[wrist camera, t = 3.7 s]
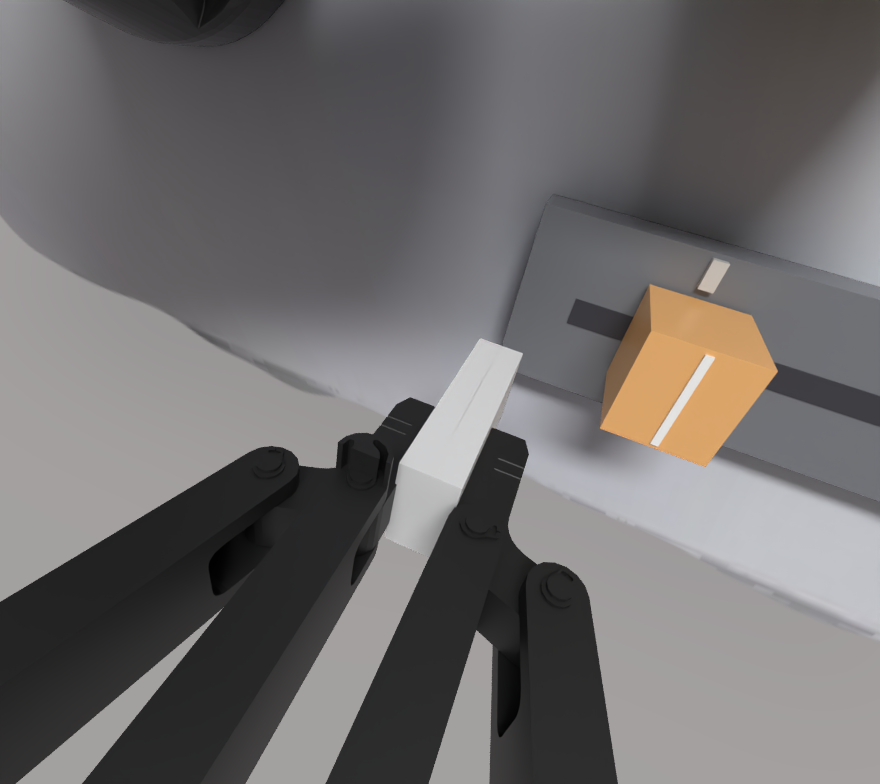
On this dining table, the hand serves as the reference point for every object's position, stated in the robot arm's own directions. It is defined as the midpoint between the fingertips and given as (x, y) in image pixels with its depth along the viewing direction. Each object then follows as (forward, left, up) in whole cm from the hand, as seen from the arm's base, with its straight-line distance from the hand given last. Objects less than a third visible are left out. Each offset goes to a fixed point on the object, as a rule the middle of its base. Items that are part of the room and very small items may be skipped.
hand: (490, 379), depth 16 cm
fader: (+6, 0, -7) cm, 9 cm away
